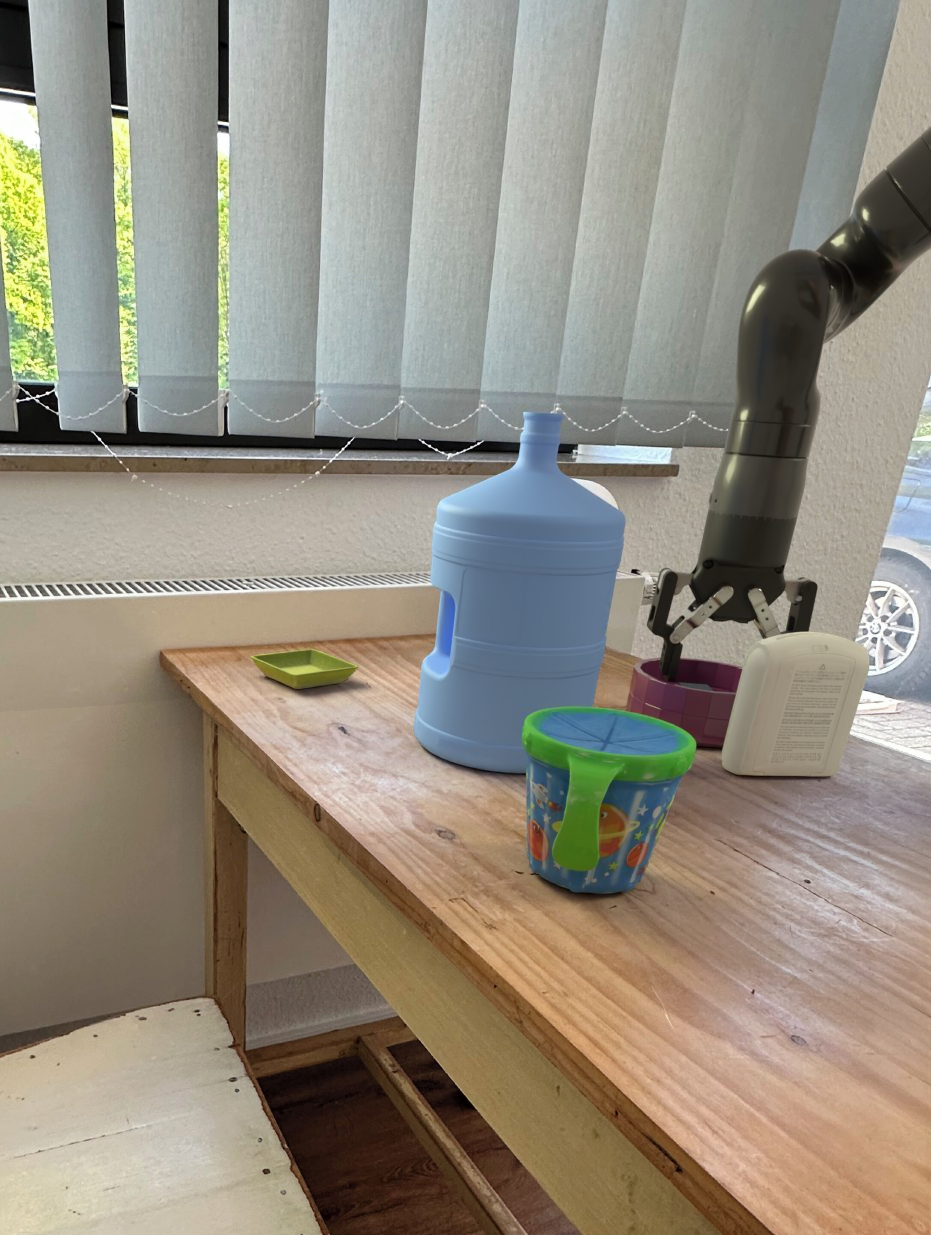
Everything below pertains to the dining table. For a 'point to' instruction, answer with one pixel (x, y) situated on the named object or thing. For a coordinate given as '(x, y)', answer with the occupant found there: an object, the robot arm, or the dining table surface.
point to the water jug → (516, 604)
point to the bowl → (687, 697)
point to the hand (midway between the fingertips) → (713, 683)
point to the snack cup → (599, 793)
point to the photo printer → (795, 705)
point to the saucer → (304, 668)
